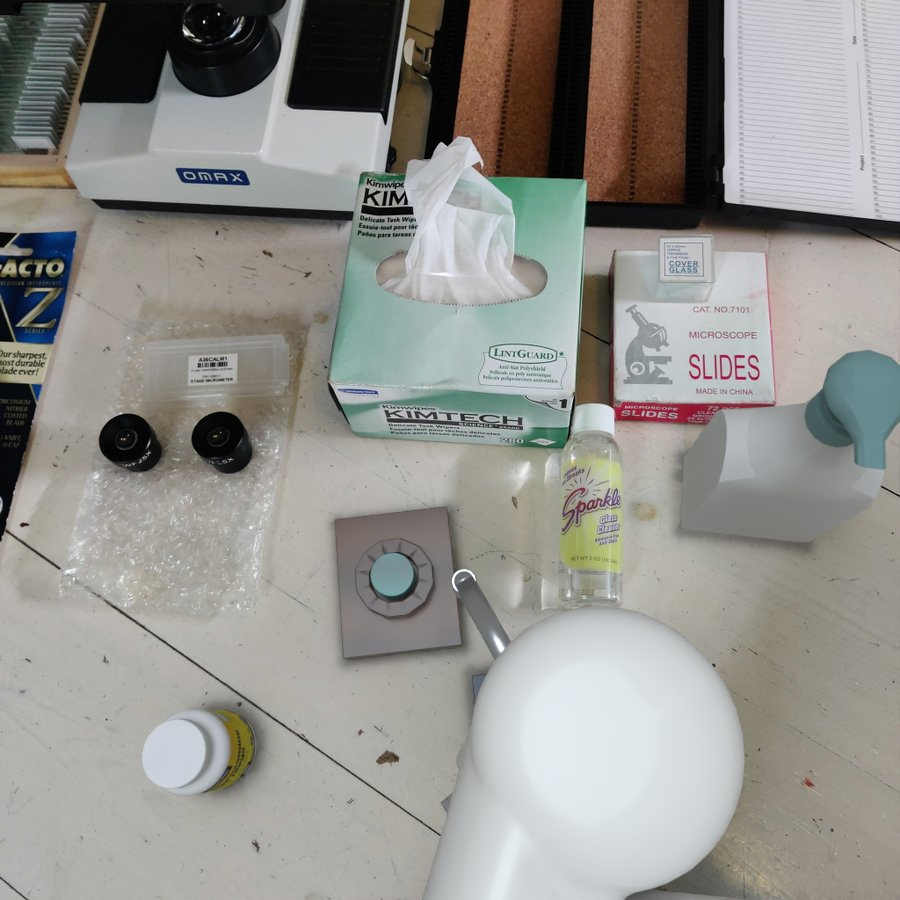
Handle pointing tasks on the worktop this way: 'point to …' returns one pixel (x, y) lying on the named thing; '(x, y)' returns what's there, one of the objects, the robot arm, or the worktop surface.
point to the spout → (480, 611)
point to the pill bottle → (199, 751)
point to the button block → (408, 618)
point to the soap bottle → (795, 457)
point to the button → (393, 575)
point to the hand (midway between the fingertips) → (545, 729)
